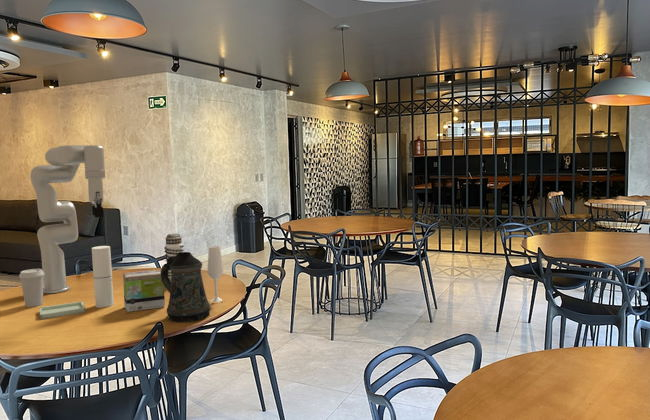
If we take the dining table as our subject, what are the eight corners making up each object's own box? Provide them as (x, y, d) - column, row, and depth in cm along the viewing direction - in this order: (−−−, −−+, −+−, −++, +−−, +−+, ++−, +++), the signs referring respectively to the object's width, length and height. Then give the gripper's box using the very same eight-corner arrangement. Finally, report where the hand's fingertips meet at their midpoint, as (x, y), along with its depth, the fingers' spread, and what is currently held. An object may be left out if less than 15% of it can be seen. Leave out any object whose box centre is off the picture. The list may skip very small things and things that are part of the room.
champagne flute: (220, 304, 211) (218, 248, 209) (206, 303, 213) (203, 247, 210) (227, 299, 218) (224, 245, 216) (212, 299, 219) (210, 245, 217)
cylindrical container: (91, 306, 211) (87, 248, 209) (104, 302, 218) (101, 245, 215) (104, 308, 209) (100, 249, 206) (117, 303, 215) (113, 246, 213)
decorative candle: (177, 280, 254) (175, 232, 252) (189, 283, 249) (187, 233, 246) (162, 284, 247) (159, 234, 244) (174, 287, 242) (171, 236, 239)
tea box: (127, 313, 201) (124, 277, 200) (124, 307, 210) (122, 272, 209) (165, 307, 208) (163, 272, 207) (161, 301, 217) (159, 268, 215)
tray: (39, 311, 205) (39, 307, 205) (82, 305, 213) (82, 301, 213) (40, 319, 195) (40, 314, 195) (85, 312, 203) (85, 308, 203)
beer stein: (207, 321, 188) (204, 256, 186) (154, 324, 187) (150, 258, 184) (213, 308, 205) (210, 248, 202) (164, 311, 203) (161, 250, 201)
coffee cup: (35, 308, 210) (32, 273, 208) (15, 307, 212) (12, 273, 210) (51, 302, 219) (49, 268, 218) (33, 301, 221) (30, 268, 220)
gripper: (83, 175, 213) (86, 215, 215) (87, 175, 198) (90, 218, 200) (102, 174, 217) (105, 213, 218) (107, 175, 202) (110, 217, 204)
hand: (97, 216), depth 209 cm, fingers open, 9 cm apart
